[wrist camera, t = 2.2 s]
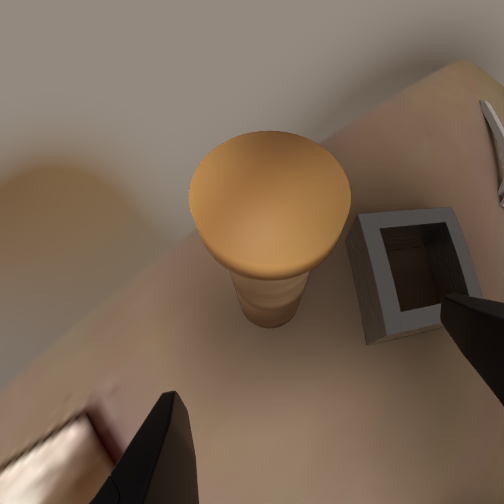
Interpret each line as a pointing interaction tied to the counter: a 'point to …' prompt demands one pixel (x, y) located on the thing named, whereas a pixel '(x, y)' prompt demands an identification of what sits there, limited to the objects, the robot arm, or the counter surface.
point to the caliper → (500, 134)
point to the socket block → (380, 276)
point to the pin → (269, 216)
